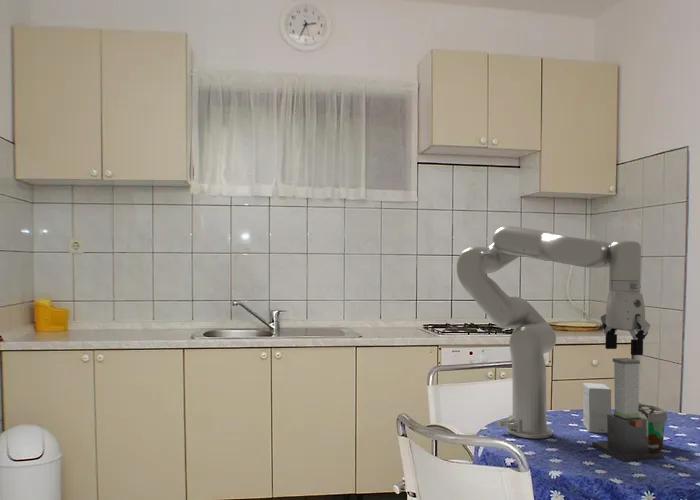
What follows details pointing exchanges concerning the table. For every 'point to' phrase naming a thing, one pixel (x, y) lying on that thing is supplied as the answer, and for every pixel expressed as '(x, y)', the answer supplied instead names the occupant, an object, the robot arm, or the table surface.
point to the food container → (653, 424)
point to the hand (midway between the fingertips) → (623, 351)
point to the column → (626, 388)
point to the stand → (627, 440)
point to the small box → (596, 407)
